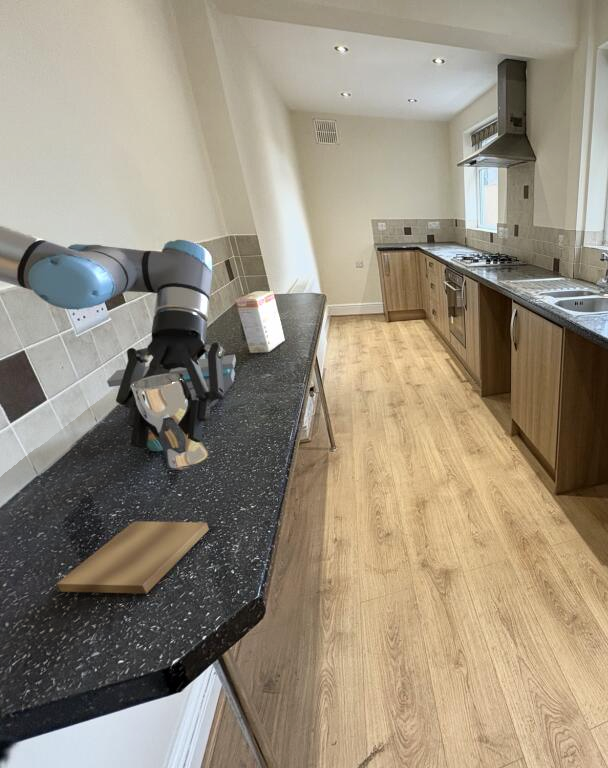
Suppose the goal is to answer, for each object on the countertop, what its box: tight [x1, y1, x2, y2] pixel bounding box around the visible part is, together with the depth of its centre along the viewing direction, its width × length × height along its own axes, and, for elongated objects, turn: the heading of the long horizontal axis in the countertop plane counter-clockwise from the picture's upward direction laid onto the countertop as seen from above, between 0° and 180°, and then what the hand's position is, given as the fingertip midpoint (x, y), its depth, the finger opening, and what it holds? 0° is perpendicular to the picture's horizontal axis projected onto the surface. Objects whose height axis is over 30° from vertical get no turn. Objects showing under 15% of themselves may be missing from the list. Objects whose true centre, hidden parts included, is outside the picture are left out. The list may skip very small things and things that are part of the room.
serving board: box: [56, 520, 210, 594], centre depth 61 cm, size 12×12×2 cm
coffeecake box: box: [234, 290, 286, 354], centre depth 151 cm, size 15×7×20 cm, turn 6°
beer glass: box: [131, 373, 210, 471], centre depth 68 cm, size 7×7×15 cm
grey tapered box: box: [106, 354, 237, 408], centre depth 106 cm, size 25×8×11 cm, turn 118°
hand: (167, 443), depth 65 cm, fingers closed on beer glass, 7 cm apart
